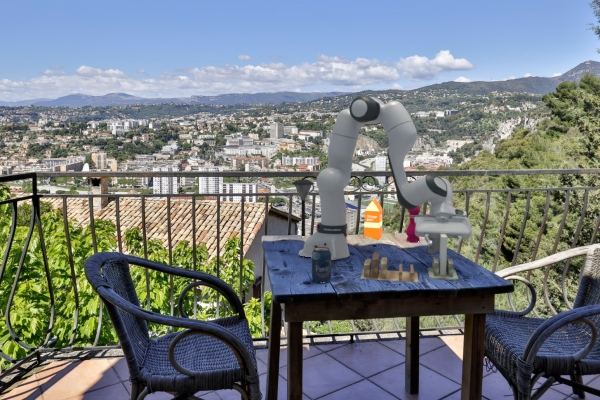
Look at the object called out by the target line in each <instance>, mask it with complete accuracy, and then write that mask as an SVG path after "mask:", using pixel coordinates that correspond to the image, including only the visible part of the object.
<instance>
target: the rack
mask: <svg viewBox="0 0 600 400" xmlns="http://www.w3.org/2000/svg"><path fill="white" fill-rule="evenodd" d="M409 268H410V271H403V263H399V267H398V269H399V270H388V257H387V256H382V257H381V260H380V252H373V255H372V259H369V258H367V259H366V258H365V261H364V263H363V269H362V272H361V275H360V279H361V280H363V279H364V280H378V281H392V282H393V281H394V282H395V281H396V282H410V283H419V278H418V272H417V271H415V270H414V264H410V266H409Z"/></svg>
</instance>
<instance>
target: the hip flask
mask: <svg viewBox="0 0 600 400" xmlns="http://www.w3.org/2000/svg"><path fill="white" fill-rule="evenodd" d="M428 215H430V213H429V214H428ZM429 240H432V247H430V246H428V245H427V254H429V255H435V254H436V253H439V252H440V238H436V237H429Z"/></svg>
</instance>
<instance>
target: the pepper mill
mask: <svg viewBox="0 0 600 400" xmlns="http://www.w3.org/2000/svg"><path fill="white" fill-rule="evenodd" d="M407 212H408V213H409V214H408V218H409V223H408V226H407V227H406V230H405V234H406V236H407V237H406V242H408V241H409V242H408V243H413V242H416V243H419V242H420V241H421V239H420V238H421V237H417V236H416V235H415V226H416V224H415V223H414V218H415V216H418V215H420V212H421V206H419V207H417V208H415V209H413V210H408V209H407ZM418 241H419V242H418Z"/></svg>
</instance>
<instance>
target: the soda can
mask: <svg viewBox="0 0 600 400" xmlns="http://www.w3.org/2000/svg"><path fill="white" fill-rule="evenodd" d="M311 278H312V280H314V281H315V282H314V281H313V282H314V283H316V282H322V283H321V284H324V283H323V282H328V283H329V282H330V281H331V279H332V260H331V252H330V249H329V248H327V247H316V248H314V250H313V252H312V258H311Z"/></svg>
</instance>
